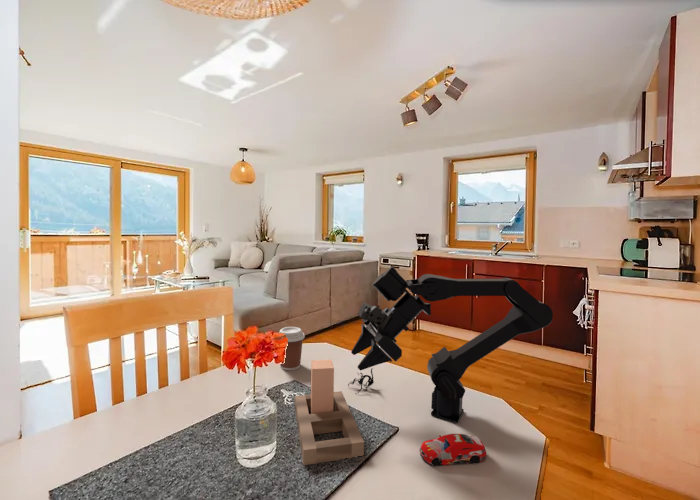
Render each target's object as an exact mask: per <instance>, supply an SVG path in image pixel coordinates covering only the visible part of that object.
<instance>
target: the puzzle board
mask: <svg viewBox="0 0 700 500" xmlns="http://www.w3.org/2000/svg"><path fill="white" fill-rule="evenodd" d="M309 411H311V393H309V394H301V395H295V396H294V412H295V417H296V423H297V424H296V425H297V433H298V438H299V446H300V451H301V458H302V459H301V460H302V465H303V466H306V465H313V464H315V465H316V464H320V463H327V462H333V461H340V459H342V460H346V459H345V458H349V459H352V458H351V457H355V458H357V457H356V456H362V457H364V456H365V454H364V453H365V451H364V450H365V441H364V439H363V436H362V435H361V432H360V430H359V427H358V425H357V423H356V420H355V418H354V416H353V413H352V412H351V410H350V407H349V405H348V402H347V400H346V398H345V396H344V393H343V392H342V391H334V398H333V412H325V413H317V414H311V413H309ZM339 432H341V433H342V436H343V437H342V438H335V439H327V440H319V441H316V440H315V435H320V434H330V433H339ZM363 455H364V456H363Z"/></svg>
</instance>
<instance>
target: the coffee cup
mask: <svg viewBox="0 0 700 500" xmlns="http://www.w3.org/2000/svg"><path fill="white" fill-rule="evenodd" d="M278 333H284V334H285V335H286V337H287V338H288V346H287V349H286V358H285V363H284V364H280V363H279V366H280V369H281V370H285V371H294V370H297V369H299V368H301V363H302V362H301V361H302V352H303V351H302V350H303V340H304V339H305V337H306V335H305V333H304V332H303V331H302V329H301V328H300V327H298V326H297V327H296V326H285V327H283V328H281V329H279V332H278ZM282 338H283V337H282Z"/></svg>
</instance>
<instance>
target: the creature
mask: <svg viewBox="0 0 700 500" xmlns="http://www.w3.org/2000/svg"><path fill="white" fill-rule="evenodd" d="M373 368H374V367H372V368H370V374H371V376H370V375H368V374H365V375H364V374H363V373H362V372H357V375H358V376H359V377H360V378H359V377H358V378H354V379H353V380H352V381H350V382H349V383H348V384H347V387H349V386H350V385H354V384H355V383H356V381H357V382H358V383H357V384H358V385H359V386H360V389H358V390H357V392H355V395H357V394H359V393H360V392H361V391H363V392H364V391H365V392H367V391H368V388H369V387H370V386H372V385H374V383H375V381H374V378H375V377H374V373H373ZM365 378H368V379H367V381H366V382H365V384H364V380H365ZM363 384H364V386H366V387H365V389H363Z"/></svg>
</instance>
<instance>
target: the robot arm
mask: <svg viewBox="0 0 700 500" xmlns="http://www.w3.org/2000/svg"><path fill="white" fill-rule="evenodd" d="M371 285H372V287H373V288H375V290H376V291H378V293H380V295H381V296H382V297H383V298H384V299H385V300H386V301H387V302H390V301H391V302H396V303H394V304H393V305H392V306H391V308H389V307H385V308H384V309H382V308H380V307H378V306H376V305H371V304H369V303H367V302H362V304H361V306H360V308H359V309H358V312H357V315H359V318H361V321H362V323H361V325H360V326H361V333H360V335H359V338H358V339H357V341H356V343H355V344H354V345H353V348H352V349H351V354H352V356H356V355H358V354H359V353H361V352H363V351H364V350H365V351H366V349H368V348H370V347H371V348H370V349H369V350H368V352H367V353H366V355H365V356H363V358H362V360H361V361H360V363H359V364H358V365H357V370H360V371H364V370H366V369H369V368H371V367H372V368H373V367H375V366H378V365H381V364H384V363H385V364H386V363H388V362H390V363H392V362H393V361H394V362H398V360H400V358H402V355H403V354H402V353H403V350H402V349H401V347H400V346H399V345H398V343H397V341H398V340H397V339H396V338H397V337H398V336H400V334H401V333H402V332H403V331H405V332H407V331H408V330H409V329H410V328H409V327H408V326H409V325H410V323H411V322H413V320H415V319H416V318H417V317H418V316H419V314H420V313H422V312H424V314H426V315H427V316H431V315H432V311H431V310H432V309H431V308H432V304H431V303H429V302H438V301H439V302H440V301H443V300H449V299H452V298H455V297H472V296H473V297H500V296H501V297H505V298H506V299H507V301H509V303H510V304H511V305H512V307H511V308H510V310H509V311H508V312H507V314H506V315H505V317H504V318H503V319H501V320H500V321H498V322H497V323H495V324H494V325H492V326H491V327H489V328H488V329H486V330H484V331H483V332H481V333H479V335H477V336H475V337H474V338H472V339H470V340H469V341H468V342H466V343H464V344H463V345H461V346H460V347H458V348H455V349H452V350H448V349H447V347H446V346H444V347H442V348H441V349H440V350H438V351H437V352H435V353H432V354H431V358H429V359H428V362H427V365H426V366H427V368H426V369H427V372H428V374H429V377H430V379H431V381H432V384H433V385H434V388H433V391H432V393H431V406H430V407H431V409H432V410H431V412H430V413H431V416H433V417H436V418H439V419H442V420H445V421H449V422H452V423H455V424H458V423H459V422H460V419H461V417H462V416H463V413H464V410H465V409H464V408H463V398H464V395H465V393H466V388H465V386H464V385H463V383H462V381H461V379H462V377H463V376H464V374H465V372H466V371H467V370H468V368H469V367H470V366H471V365H473V364H475V363H476V362H478V361H480V360H481V359H482V358H485V357H486V356H487V355H489V354H491V353H493V352H494V351H495V350H497V349H498V348H500V347H502V346H503V345H505V344H506V343H508V342H509V341H512V340H513V339H515V337H517V336H519V335H523V334H524V335H525V334H528V333H534V332H537V331H539V330H542V329H544V328H546V327H548V326H549V325H551V323H552V321H553V318H554V313H553V310H552V308H551V307H550V306H549V305H548V304H547V303H545V302H542V301H540V300H538V299H537V298H535V297H534V296H533V295H532V294H531V293H529V292H528V291H527V290H526V289H525V288H524V287H523V286H522V285H520V283H519V282H518V281H516V280H514V279H513V278H509V277H502V278H452V277H447V276H443V275H436V274H431V273H425V274H422V275H421V276H420V277H418V278H413V279H405V278H404V277H402V275H401V274H400V273H399V272H398V271H397V269H396V268H395V267H394V266H390V267H389V268H388V269H386V270H385V271H384V272H382V273H380V275H378V276H377V277H376V279H374V281H373V282H372V283H371ZM407 289H408V290H407ZM410 292H411V293H410ZM420 296H421V297H422V298H423V299H424V300H426V301H427V302H424V300H423V299H422V298H421V297H420ZM397 300H398V301H397Z"/></svg>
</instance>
